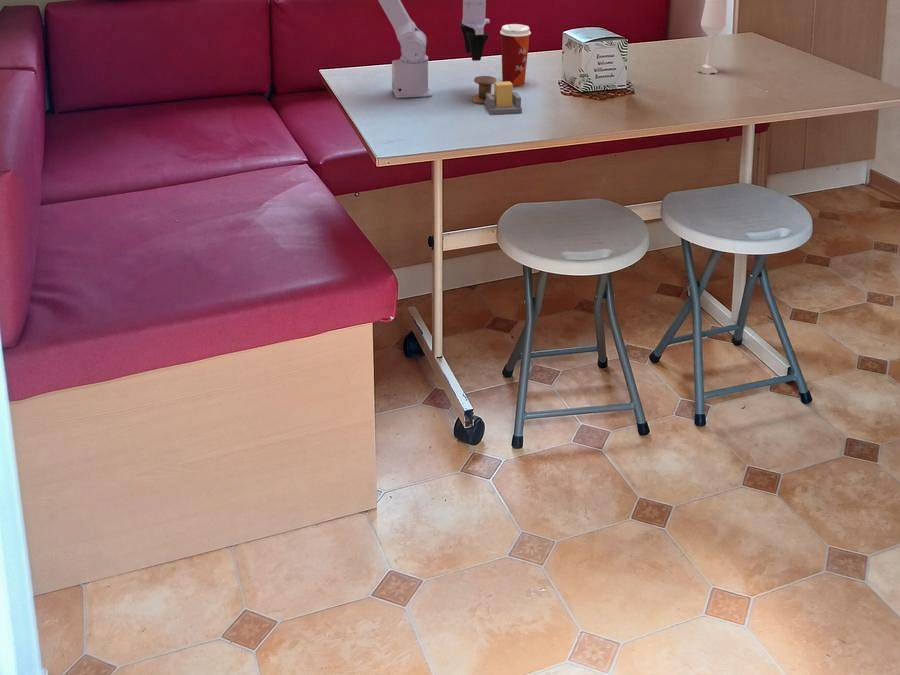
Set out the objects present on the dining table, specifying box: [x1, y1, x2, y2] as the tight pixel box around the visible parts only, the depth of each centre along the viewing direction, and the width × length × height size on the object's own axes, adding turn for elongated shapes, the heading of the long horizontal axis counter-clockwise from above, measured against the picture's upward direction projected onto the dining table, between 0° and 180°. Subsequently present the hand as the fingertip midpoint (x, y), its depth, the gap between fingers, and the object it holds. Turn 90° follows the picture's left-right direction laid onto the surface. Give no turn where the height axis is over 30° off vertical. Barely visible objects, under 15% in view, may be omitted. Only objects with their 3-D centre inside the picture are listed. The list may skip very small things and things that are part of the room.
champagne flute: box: [700, 0, 728, 68], centre depth 288 cm, size 7×7×24 cm
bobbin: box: [470, 75, 497, 106], centre depth 267 cm, size 7×7×6 cm
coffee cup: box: [499, 23, 532, 87], centre depth 278 cm, size 8×8×15 cm
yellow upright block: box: [493, 81, 514, 107], centre depth 260 cm, size 4×3×6 cm
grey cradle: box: [484, 91, 523, 116], centre depth 261 cm, size 8×7×4 cm
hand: (473, 56), depth 268 cm, fingers open, 7 cm apart
